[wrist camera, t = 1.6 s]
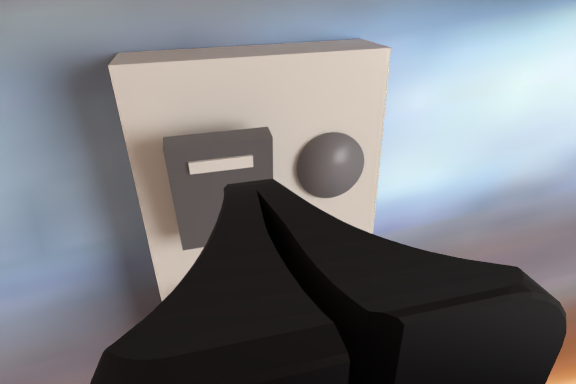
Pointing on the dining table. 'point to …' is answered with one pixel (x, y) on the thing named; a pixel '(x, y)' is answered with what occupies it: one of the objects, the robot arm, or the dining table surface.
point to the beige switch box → (256, 124)
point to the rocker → (212, 174)
